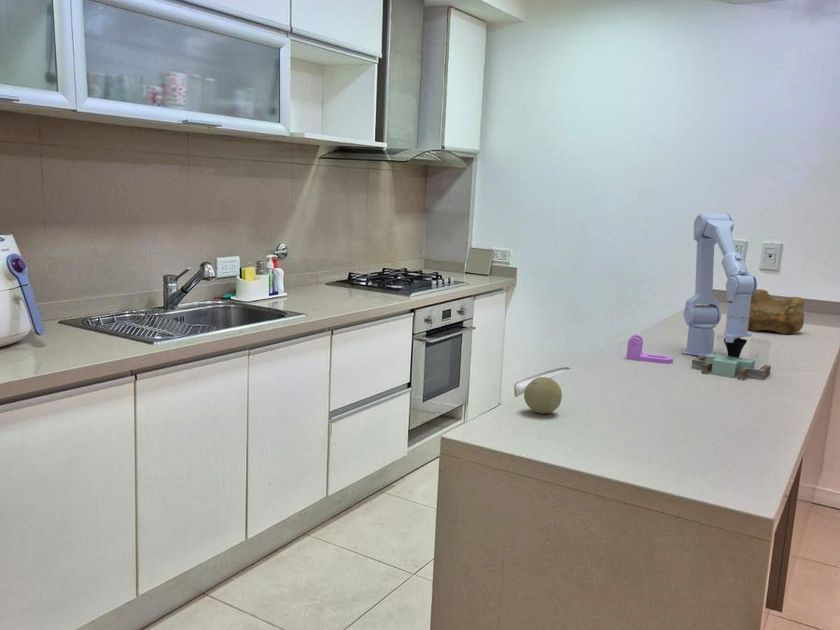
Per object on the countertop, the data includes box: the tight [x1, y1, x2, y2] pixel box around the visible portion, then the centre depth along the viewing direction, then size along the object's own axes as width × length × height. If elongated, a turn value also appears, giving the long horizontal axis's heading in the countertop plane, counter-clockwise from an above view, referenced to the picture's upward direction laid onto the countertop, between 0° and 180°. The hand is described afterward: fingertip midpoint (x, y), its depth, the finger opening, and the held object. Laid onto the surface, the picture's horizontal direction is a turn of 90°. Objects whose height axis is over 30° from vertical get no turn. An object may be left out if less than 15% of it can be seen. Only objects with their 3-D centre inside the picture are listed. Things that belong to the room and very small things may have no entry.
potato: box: [523, 376, 563, 415], centre depth 156 cm, size 8×8×8 cm
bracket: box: [626, 334, 674, 365], centre depth 212 cm, size 13×6×7 cm, turn 66°
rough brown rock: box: [747, 288, 805, 335], centre depth 268 cm, size 23×17×15 cm
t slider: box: [705, 353, 756, 378], centre depth 199 cm, size 9×12×4 cm
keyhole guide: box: [691, 355, 772, 381], centre depth 200 cm, size 13×19×2 cm
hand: (732, 363), depth 203 cm, fingers closed
